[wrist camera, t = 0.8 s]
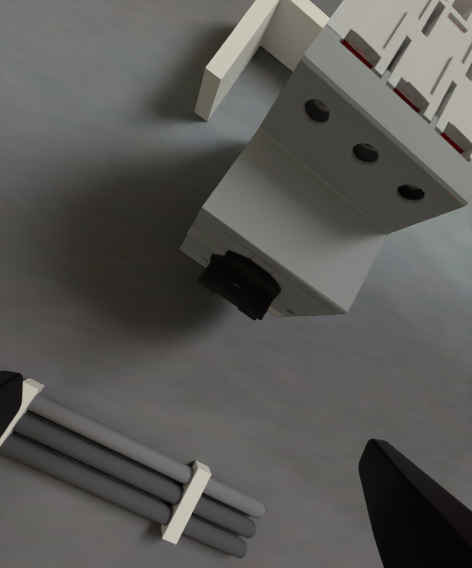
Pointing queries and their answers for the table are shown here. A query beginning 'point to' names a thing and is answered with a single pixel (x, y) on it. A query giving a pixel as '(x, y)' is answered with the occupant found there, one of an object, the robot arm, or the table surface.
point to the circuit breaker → (343, 160)
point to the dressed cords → (129, 474)
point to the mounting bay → (260, 32)
